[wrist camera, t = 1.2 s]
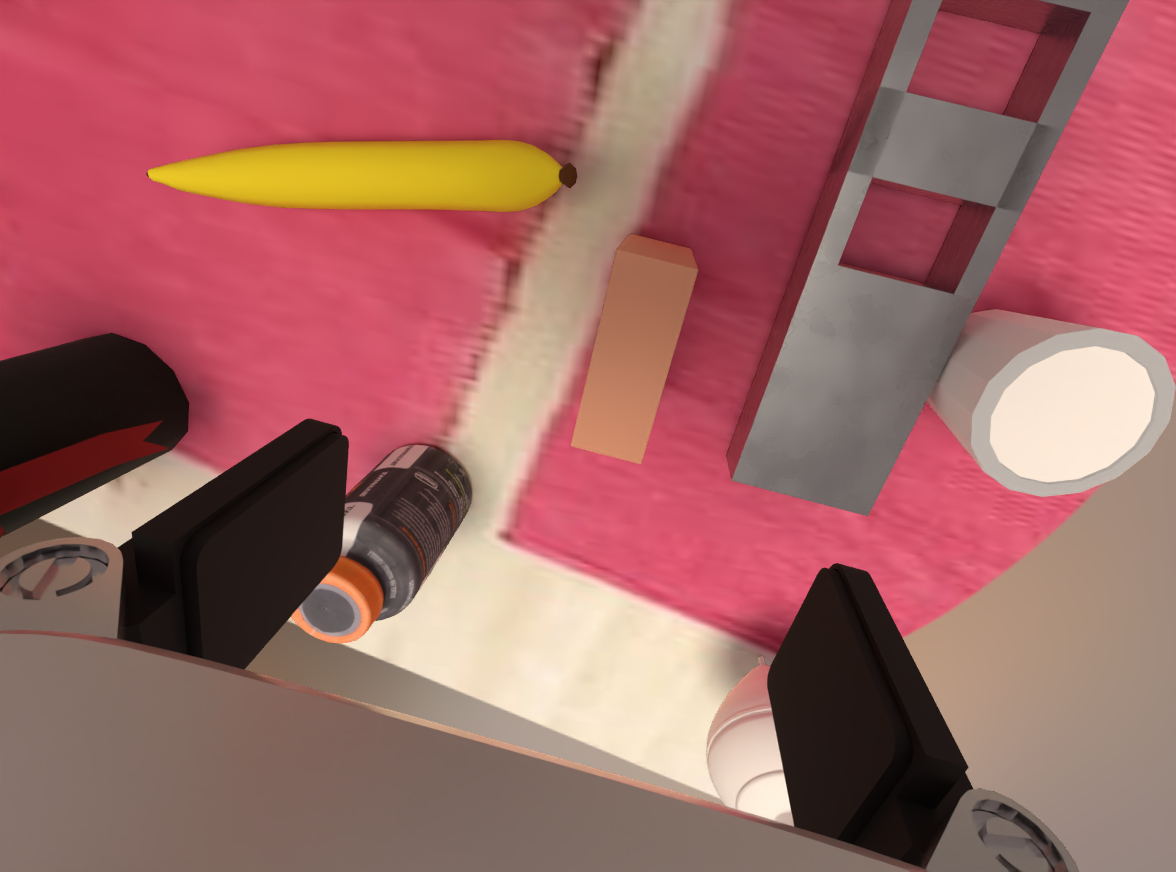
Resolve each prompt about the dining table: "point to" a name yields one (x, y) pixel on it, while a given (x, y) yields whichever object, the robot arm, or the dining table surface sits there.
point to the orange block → (634, 346)
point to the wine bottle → (81, 421)
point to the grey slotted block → (889, 303)
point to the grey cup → (1052, 400)
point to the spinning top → (748, 751)
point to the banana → (376, 175)
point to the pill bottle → (388, 542)
